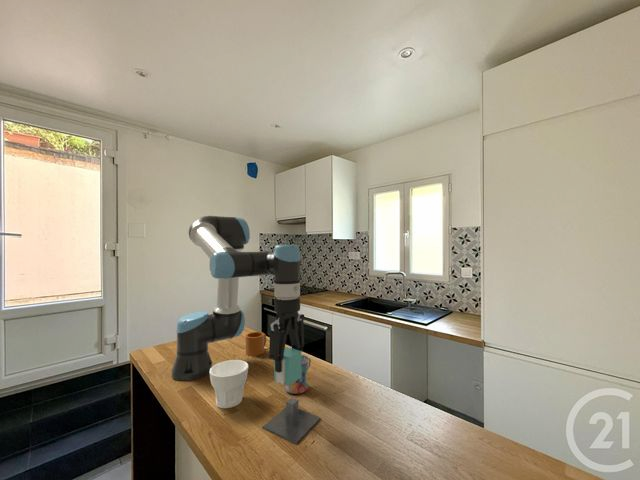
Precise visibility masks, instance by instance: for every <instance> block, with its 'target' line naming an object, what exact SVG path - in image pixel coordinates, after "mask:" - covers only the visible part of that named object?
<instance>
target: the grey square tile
mask: <svg viewBox="0 0 640 480" xmlns="http://www.w3.org/2000/svg"><path fill="white" fill-rule="evenodd" d="M299 401H300V400H299V399H296V398H295V397H290V398H289V399H288V400H286V401H285V407H284V408H283V409H282V410H281V411H279V413H277V414H276V415H275V416H273V417H272V418H271V419H270V420H268V421H267V422H266V423H264V424H263V425H262V429H263V430H265V431H267V432H269V433H270V434H271V433H272V434H274V435H276V436H278V437H280V438H281V439H284V440H286V441H288V442H290V443H292V444H294V445H296V446H297V445H298V444H299V442H300V441H301V440H302V439H304V437H306V435H307V434H308V433H309V432H310V431H311V430H312V429H313V428H314V427H315V426H316V425H317V424H318V423H319V421H320V420H321V417H320V416H318V415H316V414H313V413H311V412H307V411H305V410H303V409H300V408H299V403H300V402H299Z"/></svg>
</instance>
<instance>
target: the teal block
mask: <svg viewBox="0 0 640 480" xmlns="http://www.w3.org/2000/svg"><path fill="white" fill-rule="evenodd" d="M301 355H302V352H301V351H300V350H296V349H292V347H291V348H290V347H288V346H287V347H286V346H285V350H284V356H283V359H285V384H284V385H291V384H292V383H294V382H295V381H297V380H298V379H300V378H301V377H302V370H301ZM273 380H274V382H276V371H275V360H273Z"/></svg>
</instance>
